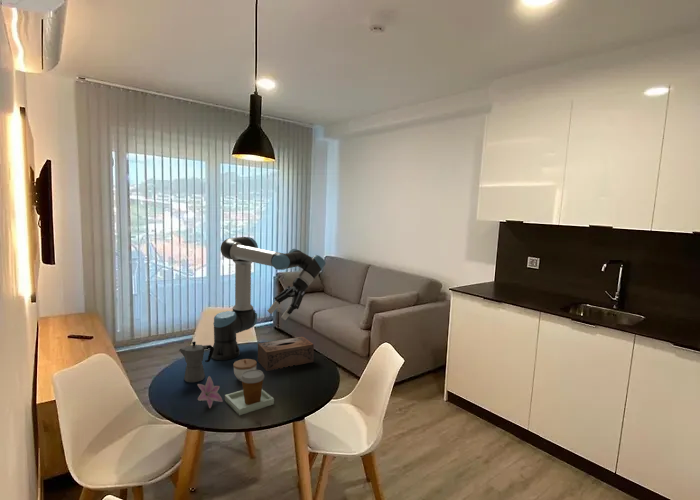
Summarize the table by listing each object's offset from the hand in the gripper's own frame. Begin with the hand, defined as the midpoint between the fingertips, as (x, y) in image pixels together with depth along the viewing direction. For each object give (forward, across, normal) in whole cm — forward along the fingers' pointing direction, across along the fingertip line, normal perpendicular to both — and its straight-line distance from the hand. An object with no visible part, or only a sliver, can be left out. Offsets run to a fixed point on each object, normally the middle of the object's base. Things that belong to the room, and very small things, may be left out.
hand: (275, 315), depth 189 cm
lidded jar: (+31, +5, -12) cm, 33 cm away
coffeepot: (+44, +19, +1) cm, 47 cm away
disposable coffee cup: (+36, -20, -5) cm, 41 cm away
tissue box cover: (+13, +12, -30) cm, 35 cm away
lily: (+46, -9, +4) cm, 47 cm away
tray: (+37, -18, -5) cm, 41 cm away
